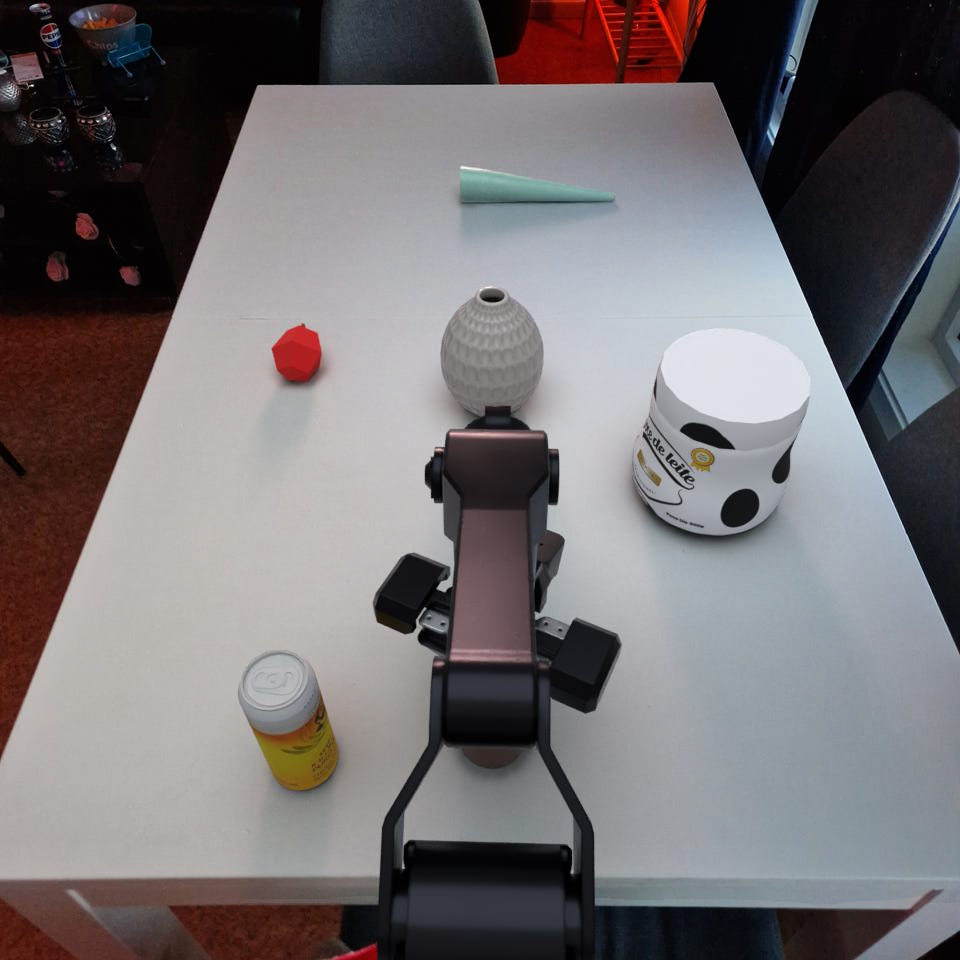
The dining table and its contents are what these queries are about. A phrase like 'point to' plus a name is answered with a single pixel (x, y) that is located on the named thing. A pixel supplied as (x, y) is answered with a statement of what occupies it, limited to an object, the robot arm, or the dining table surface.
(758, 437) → the milk container
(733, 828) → the dining table surface
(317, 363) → the apple
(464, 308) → the vase
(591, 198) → the long green cone
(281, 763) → the beer can
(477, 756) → the bottle
